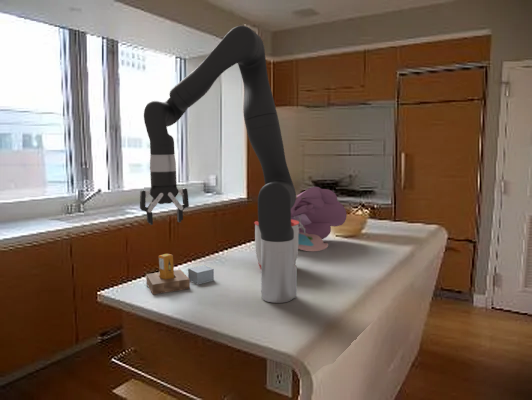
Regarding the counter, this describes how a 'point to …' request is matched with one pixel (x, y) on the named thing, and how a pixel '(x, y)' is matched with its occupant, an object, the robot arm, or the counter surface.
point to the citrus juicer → (258, 240)
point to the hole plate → (167, 282)
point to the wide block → (201, 274)
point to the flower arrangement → (316, 217)
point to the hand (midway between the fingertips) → (165, 223)
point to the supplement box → (166, 266)
